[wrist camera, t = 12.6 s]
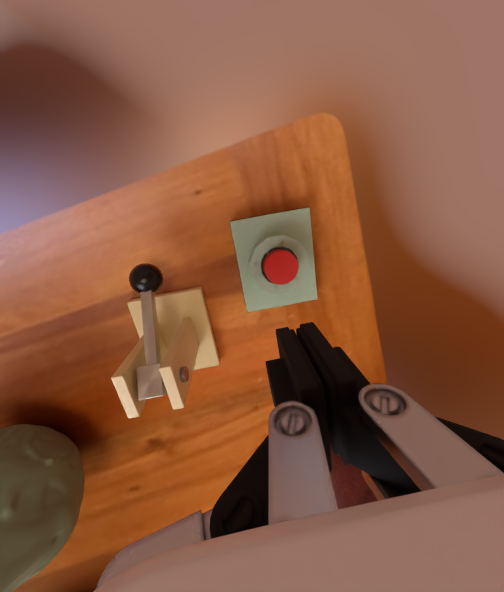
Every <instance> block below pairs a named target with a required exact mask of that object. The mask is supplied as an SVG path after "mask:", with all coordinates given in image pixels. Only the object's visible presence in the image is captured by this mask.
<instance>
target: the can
mask: <svg viewBox="0 0 504 592" xmlns="http://www.w3.org/2000/svg"><path fill="white" fill-rule="evenodd" d="M330 450H331V461H332V471H331V473H330V476H331V481H332V485H333V489H334V494H335V498H336V502H337V507H338V509H343V508H347V507H352V506H356V505H361V504H366V503H370V502H375V501H378V499H377V498H376V496H375V495H374V493H373V492H372V490H371V489H370V487H369V486H368V484H367V483H366V481H365V479H364V477H363V475H362V472H361V470H360V469H358V468H357V467H355V466H353V465H352V464H348V465H344V463H343V461H342V459H341V457H340V455H336V456H335V455H334V453H333V451H332V449H331V446H330Z"/></svg>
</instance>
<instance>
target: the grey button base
mask: <svg viewBox="0 0 504 592" xmlns="http://www.w3.org/2000/svg"><path fill="white" fill-rule="evenodd" d="M230 225H231V230H232V236H233V241H234V246H235V251H236V256H237V262H238V267H239V272H240V277H241V282H242V288H243V293H244V298H245V303H246V308H247V312H252V311H257V310H262V309H268V308H273V307H278V306H283V305H289V304H294V303H299V302H304V301H310V300H315V299H317V287H316V276H315V264H314V253H313V242H312V230H311V219H310V208H309V207H307V208H301V209H295V210H290V211H284V212H279V213H273V214H268V215H262V216H257V217H251V218H246V219H240V220H235V221H230ZM276 249H284V250H286V251H288V252H290V253H292V254H293V255H294V256H295V257H296V259H297V261H298V266H299V268H298V273H297V275H296V276H295V278H294V279H293V280H292V281H290V282H289V283H286V284H275V283H273V282H271V281H270V280H269V279H268V277H267V276H266V274H265V272H264V269H263V262H264V259H265V257H266V256H267V254H269V253H270V252H271V251H273V250H276Z"/></svg>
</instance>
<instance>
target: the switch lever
mask: <svg viewBox="0 0 504 592" xmlns="http://www.w3.org/2000/svg"><path fill="white" fill-rule="evenodd" d="M129 282H130V285H131V287H132V288H133V289H134V290H135V291H136V292H138V293H140V295H141V308H142V321H143V335H144V348H145V361H146V366H141V367H137V368H136V371H137V386H138V400H143V399H149V398H154V397H159V396H163V395H166V394H168V393H167V390H166V388H165V385H164V382H163V379H162V376H161V373H160V370H159V367H160V365H161V354H160V343H159V332H158V322H157V311H156V300H155V292H157V291H158V290H159V289H160V288H161V286H162V284H163V275H162V273H161V271H160V270H159V269H158V268H157V267H156V266H154V265H152V264H140V265H137V266H136V267H134V268H133V269H132V271H131V273H130V275H129Z"/></svg>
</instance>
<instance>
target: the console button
mask: <svg viewBox="0 0 504 592" xmlns="http://www.w3.org/2000/svg"><path fill="white" fill-rule="evenodd" d="M298 268H299V266H298V261H297V259H296V257H295V256H294V255H293V254H292V253H290V252H288V251H286V250H284V249H276V250H273V251H271V252H270V253H269V254H267V256H266V257H265V259H264V262H263V269H264V272H265V274H266V276H267V277H268V279H269V280H270V281H271V282H273V283H275V284H286V283H289V282H290V281H292V280H293V279H294V278H295V276H296V275H297V273H298Z"/></svg>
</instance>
